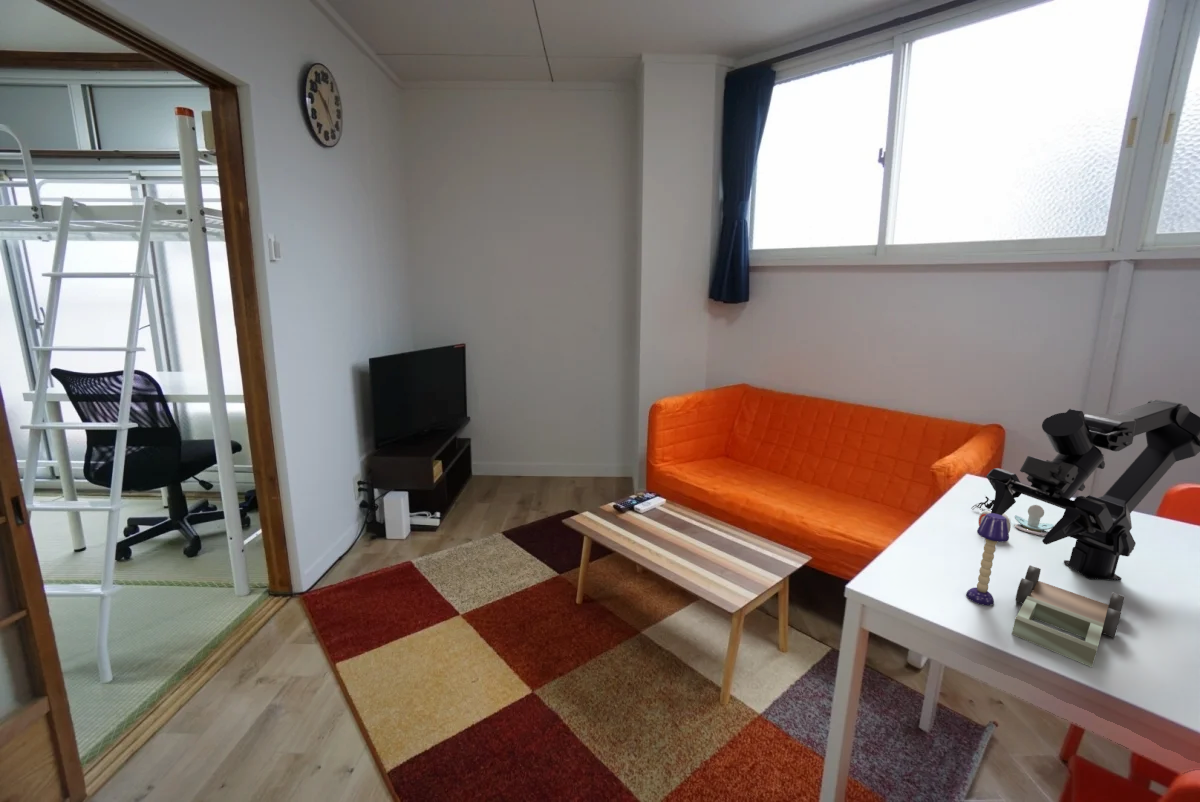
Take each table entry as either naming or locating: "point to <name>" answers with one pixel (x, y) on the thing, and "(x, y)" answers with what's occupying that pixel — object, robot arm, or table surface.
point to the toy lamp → (988, 555)
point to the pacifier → (1033, 522)
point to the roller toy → (990, 512)
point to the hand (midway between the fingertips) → (1016, 531)
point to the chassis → (1064, 618)
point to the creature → (985, 504)
